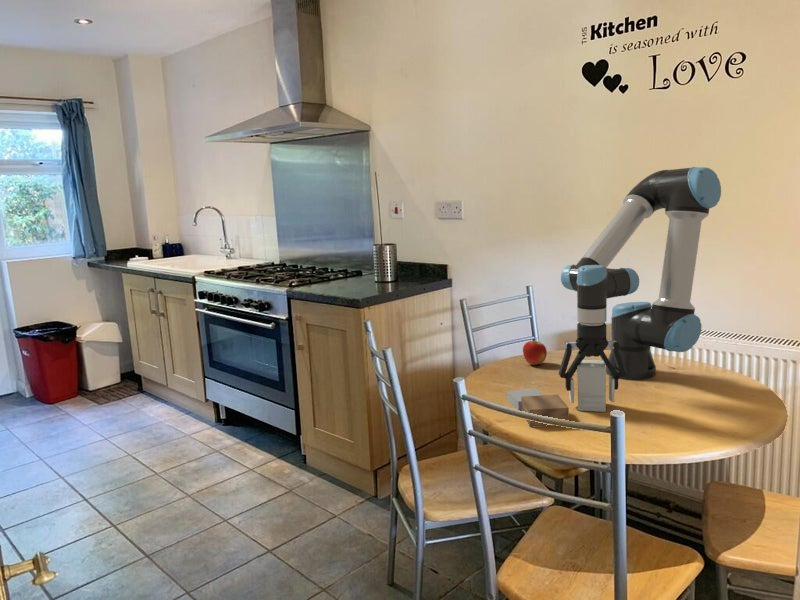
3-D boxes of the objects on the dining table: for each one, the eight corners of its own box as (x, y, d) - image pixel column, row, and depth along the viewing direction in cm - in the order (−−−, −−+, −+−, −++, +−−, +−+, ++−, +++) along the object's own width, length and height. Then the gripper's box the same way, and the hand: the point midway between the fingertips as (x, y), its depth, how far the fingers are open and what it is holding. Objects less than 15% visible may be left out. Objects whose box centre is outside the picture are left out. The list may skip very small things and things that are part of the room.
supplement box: (605, 403, 161) (605, 359, 159) (605, 412, 154) (606, 367, 152) (578, 401, 163) (578, 358, 161) (577, 410, 156) (577, 366, 154)
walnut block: (558, 411, 157) (558, 394, 156) (568, 426, 147) (568, 407, 146) (521, 413, 157) (521, 396, 156) (529, 428, 147) (529, 409, 146)
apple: (522, 361, 205) (521, 334, 204) (545, 361, 204) (545, 334, 202) (523, 368, 197) (523, 340, 196) (548, 367, 196) (547, 339, 194)
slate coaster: (536, 397, 169) (536, 388, 169) (548, 408, 161) (548, 398, 160) (507, 400, 168) (507, 391, 167) (518, 411, 159) (518, 401, 159)
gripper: (631, 318, 157) (629, 395, 161) (546, 321, 159) (547, 397, 163) (639, 324, 150) (638, 404, 153) (551, 327, 152) (552, 406, 156)
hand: (591, 400), depth 158 cm, fingers open, 10 cm apart
